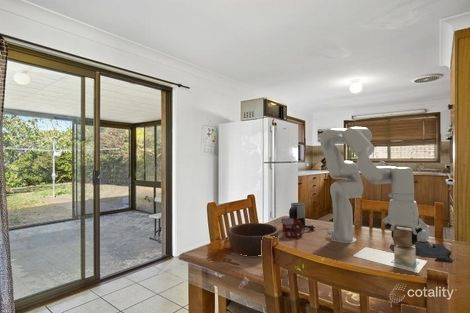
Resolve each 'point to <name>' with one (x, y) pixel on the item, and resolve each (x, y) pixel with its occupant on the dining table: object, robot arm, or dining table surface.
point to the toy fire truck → (292, 227)
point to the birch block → (405, 255)
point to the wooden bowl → (249, 237)
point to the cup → (423, 234)
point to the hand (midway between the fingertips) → (404, 241)
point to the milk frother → (299, 213)
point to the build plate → (388, 259)
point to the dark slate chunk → (431, 251)
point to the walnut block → (403, 236)
